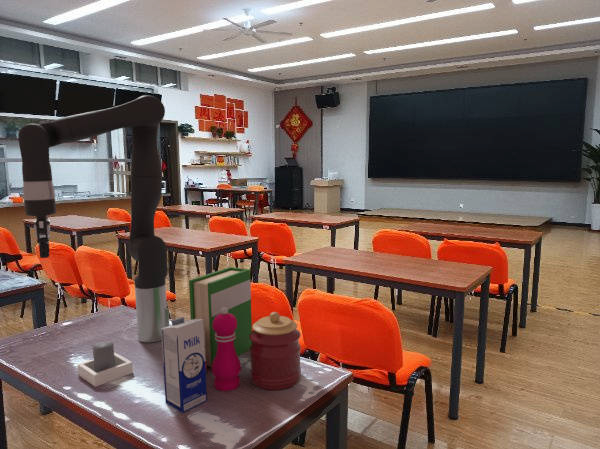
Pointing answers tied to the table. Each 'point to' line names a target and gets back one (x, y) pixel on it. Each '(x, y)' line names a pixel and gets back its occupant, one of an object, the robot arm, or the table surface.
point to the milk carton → (184, 364)
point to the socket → (105, 371)
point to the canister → (275, 353)
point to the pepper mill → (225, 353)
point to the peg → (103, 356)
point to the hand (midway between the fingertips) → (45, 255)
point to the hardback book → (223, 306)
